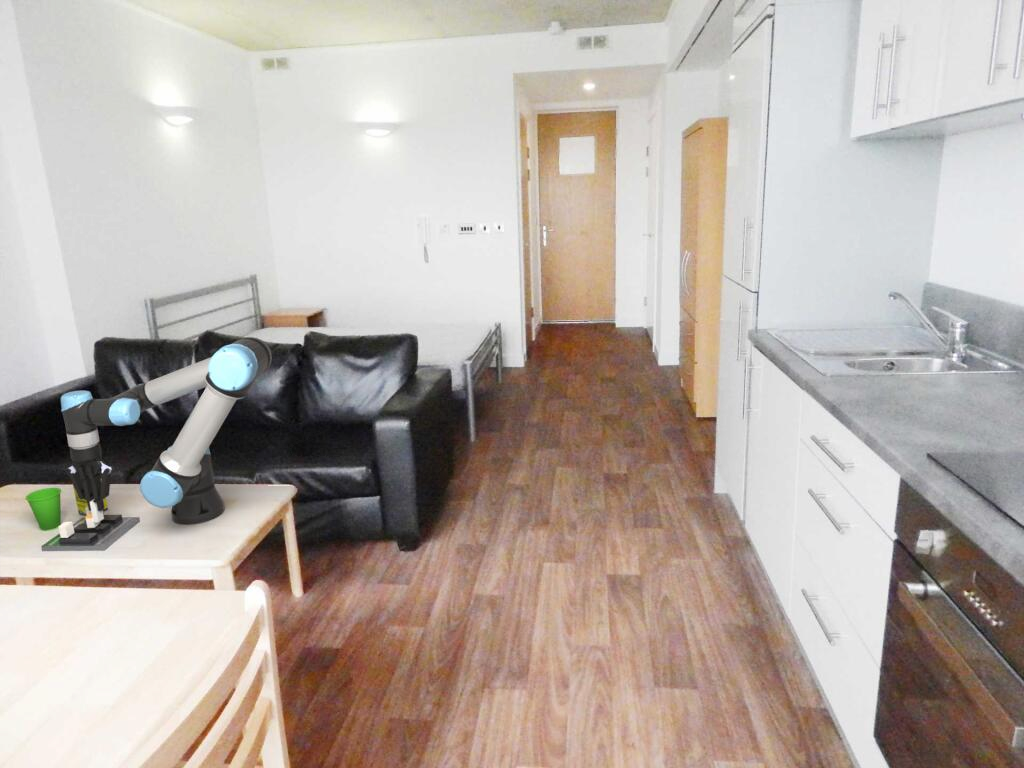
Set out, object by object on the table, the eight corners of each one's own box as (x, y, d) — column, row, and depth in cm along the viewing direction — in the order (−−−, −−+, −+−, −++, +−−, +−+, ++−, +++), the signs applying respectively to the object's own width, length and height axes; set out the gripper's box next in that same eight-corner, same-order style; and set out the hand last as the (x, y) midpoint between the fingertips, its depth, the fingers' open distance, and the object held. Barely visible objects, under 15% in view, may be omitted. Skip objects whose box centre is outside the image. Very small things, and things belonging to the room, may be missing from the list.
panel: (139, 521, 208) (138, 512, 207) (104, 550, 191) (102, 540, 190) (82, 522, 209) (80, 513, 208) (42, 551, 191) (40, 541, 191)
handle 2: (100, 514, 206) (97, 503, 205) (93, 518, 203) (91, 508, 202) (93, 514, 206) (91, 503, 205) (87, 518, 203) (85, 508, 203)
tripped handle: (100, 523, 200) (98, 512, 199) (94, 527, 197) (92, 516, 197) (93, 523, 200) (91, 512, 199) (87, 527, 198) (85, 516, 197)
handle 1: (74, 532, 195) (72, 521, 194) (67, 537, 192) (65, 526, 191) (67, 532, 195) (65, 521, 194) (60, 537, 192) (58, 526, 191)
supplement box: (78, 514, 214) (71, 482, 211) (95, 507, 219) (89, 475, 217) (91, 517, 212) (84, 485, 209) (108, 509, 217) (102, 478, 214)
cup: (50, 534, 201) (43, 500, 198) (25, 532, 203) (17, 499, 200) (75, 521, 209) (68, 488, 207) (50, 519, 211) (43, 486, 208)
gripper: (114, 440, 196) (127, 514, 202) (70, 440, 196) (85, 514, 202) (99, 449, 189) (113, 526, 195) (53, 449, 189) (68, 526, 195)
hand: (98, 520), depth 198 cm, fingers closed
